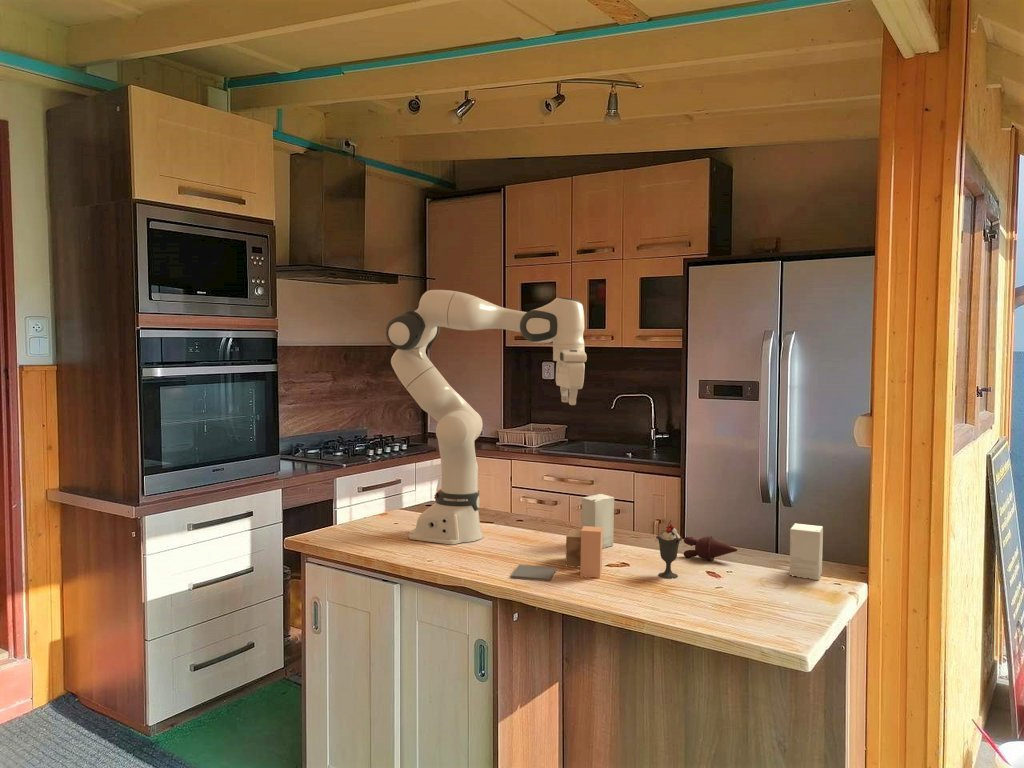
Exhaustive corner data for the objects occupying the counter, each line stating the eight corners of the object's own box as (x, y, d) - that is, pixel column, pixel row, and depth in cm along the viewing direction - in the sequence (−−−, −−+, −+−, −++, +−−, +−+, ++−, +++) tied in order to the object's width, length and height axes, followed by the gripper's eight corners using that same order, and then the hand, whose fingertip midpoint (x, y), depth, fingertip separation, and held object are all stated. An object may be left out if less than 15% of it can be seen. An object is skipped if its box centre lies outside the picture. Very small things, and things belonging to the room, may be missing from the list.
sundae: (666, 581, 199) (667, 522, 198) (650, 573, 205) (651, 516, 204) (686, 577, 202) (688, 519, 201) (670, 570, 208) (671, 514, 207)
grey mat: (510, 578, 200) (510, 575, 200) (518, 566, 210) (519, 564, 210) (549, 581, 198) (549, 578, 198) (556, 569, 208) (556, 567, 208)
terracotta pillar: (580, 576, 202) (581, 530, 201) (582, 571, 207) (583, 526, 206) (599, 578, 201) (600, 531, 200) (601, 572, 206) (602, 527, 205)
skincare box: (599, 542, 236) (600, 493, 236) (614, 546, 232) (615, 496, 231) (579, 546, 231) (580, 496, 230) (594, 551, 226) (595, 499, 226)
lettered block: (565, 566, 211) (566, 536, 211) (570, 557, 219) (570, 529, 219) (595, 568, 209) (596, 538, 209) (598, 559, 217) (599, 531, 217)
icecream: (740, 537, 219) (687, 535, 226) (734, 536, 213) (679, 533, 220) (740, 563, 217) (687, 559, 225) (734, 562, 211) (679, 559, 218)
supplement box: (822, 573, 207) (824, 526, 207) (818, 580, 201) (820, 532, 200) (793, 569, 211) (794, 522, 210) (788, 576, 204) (789, 528, 204)
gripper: (550, 354, 232) (550, 400, 233) (565, 355, 212) (565, 406, 213) (571, 354, 233) (571, 400, 234) (588, 355, 213) (588, 406, 214)
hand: (568, 403), depth 223 cm, fingers open, 8 cm apart
